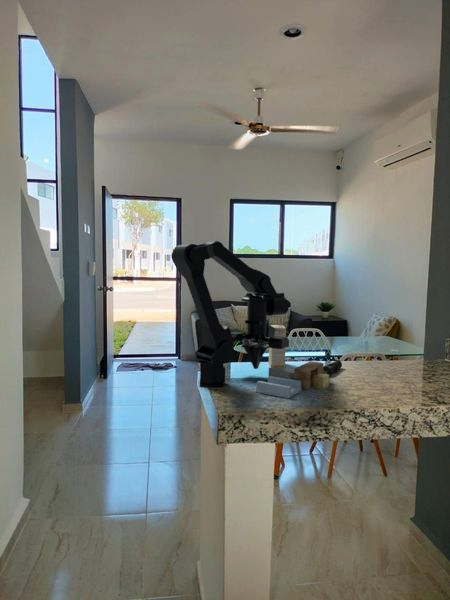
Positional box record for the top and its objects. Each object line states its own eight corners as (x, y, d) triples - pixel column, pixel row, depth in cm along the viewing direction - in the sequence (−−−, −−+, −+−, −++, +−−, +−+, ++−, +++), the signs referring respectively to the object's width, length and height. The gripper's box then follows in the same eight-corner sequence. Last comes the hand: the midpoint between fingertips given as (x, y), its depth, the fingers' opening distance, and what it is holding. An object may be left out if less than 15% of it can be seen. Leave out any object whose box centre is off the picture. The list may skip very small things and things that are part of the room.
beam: (293, 387, 114) (294, 368, 113) (309, 378, 124) (310, 361, 123) (307, 389, 111) (308, 370, 111) (323, 380, 121) (323, 362, 121)
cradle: (256, 392, 108) (256, 382, 108) (270, 385, 115) (270, 375, 115) (288, 398, 104) (288, 387, 103) (301, 390, 110) (301, 381, 110)
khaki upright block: (299, 385, 116) (299, 372, 116) (305, 383, 119) (306, 370, 119) (322, 390, 112) (323, 377, 112) (328, 387, 115) (329, 374, 114)
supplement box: (285, 368, 137) (286, 328, 136) (270, 367, 137) (271, 327, 136) (282, 362, 145) (283, 324, 144) (268, 362, 145) (269, 324, 144)
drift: (268, 380, 122) (268, 367, 122) (275, 377, 124) (275, 365, 124) (295, 386, 116) (295, 373, 116) (301, 383, 118) (302, 371, 118)
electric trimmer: (344, 369, 138) (345, 360, 137) (328, 378, 125) (329, 368, 124) (333, 368, 140) (334, 358, 139) (316, 376, 127) (317, 366, 126)
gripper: (297, 316, 126) (295, 367, 127) (243, 312, 136) (242, 360, 137) (281, 319, 116) (280, 375, 117) (224, 315, 126) (224, 366, 128)
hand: (255, 368), depth 125 cm, fingers closed
